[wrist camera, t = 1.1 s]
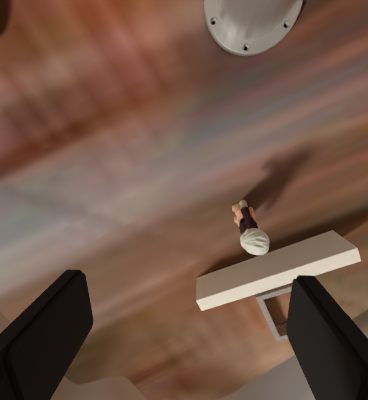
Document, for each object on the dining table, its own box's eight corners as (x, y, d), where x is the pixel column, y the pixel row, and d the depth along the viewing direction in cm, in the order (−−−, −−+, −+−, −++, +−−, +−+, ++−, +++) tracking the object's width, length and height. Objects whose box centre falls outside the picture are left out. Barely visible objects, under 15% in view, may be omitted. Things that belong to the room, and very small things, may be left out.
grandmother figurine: (257, 225, 37) (285, 269, 25) (237, 232, 38) (254, 278, 25) (244, 186, 35) (266, 213, 23) (222, 194, 36) (233, 225, 24)
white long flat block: (332, 230, 36) (357, 247, 30) (336, 241, 36) (361, 261, 31) (196, 277, 41) (195, 300, 35) (201, 286, 42) (201, 310, 36)
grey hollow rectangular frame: (291, 275, 39) (296, 284, 37) (309, 320, 42) (315, 331, 40) (252, 288, 41) (255, 297, 38) (272, 330, 43) (276, 341, 41)
